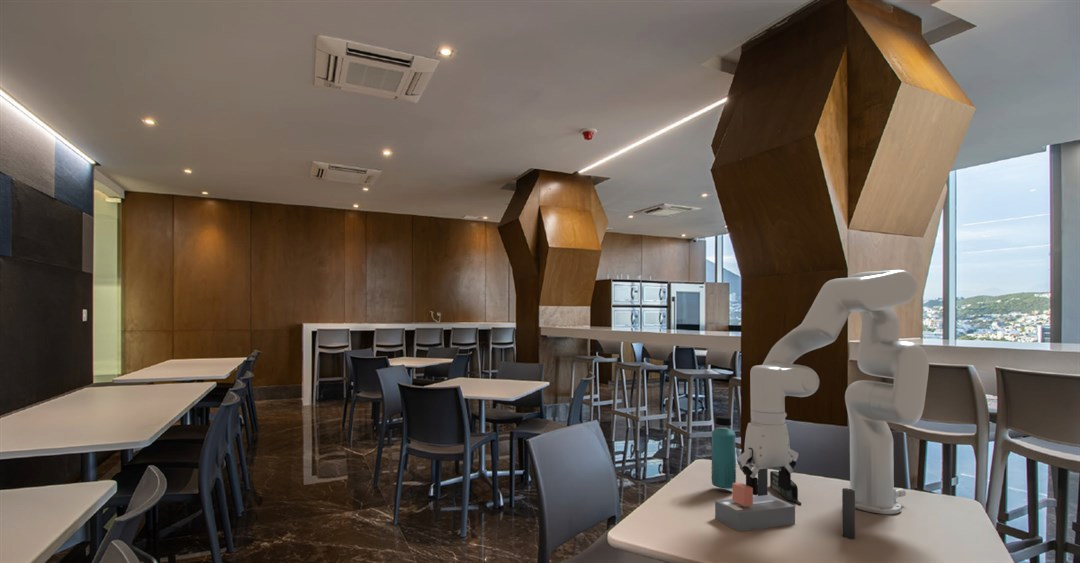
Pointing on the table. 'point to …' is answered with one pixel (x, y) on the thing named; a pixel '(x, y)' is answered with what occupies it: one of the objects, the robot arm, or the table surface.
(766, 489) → the post
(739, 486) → the switch
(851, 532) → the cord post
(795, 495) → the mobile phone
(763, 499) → the box
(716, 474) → the beverage bottle
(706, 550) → the table surface
